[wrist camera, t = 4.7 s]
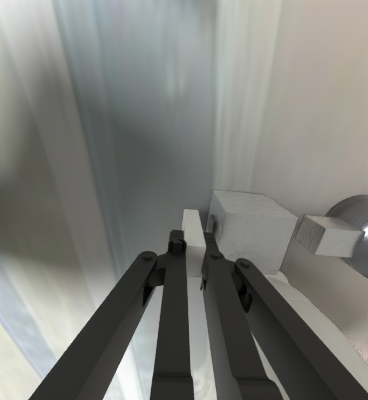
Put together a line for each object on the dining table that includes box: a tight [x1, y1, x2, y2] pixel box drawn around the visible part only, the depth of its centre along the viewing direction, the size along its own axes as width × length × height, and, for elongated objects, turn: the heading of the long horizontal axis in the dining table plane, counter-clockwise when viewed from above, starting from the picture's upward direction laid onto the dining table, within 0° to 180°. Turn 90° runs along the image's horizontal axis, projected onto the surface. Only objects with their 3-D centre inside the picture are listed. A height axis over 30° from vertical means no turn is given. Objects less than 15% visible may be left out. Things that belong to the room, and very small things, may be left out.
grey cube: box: [206, 190, 298, 275], centre depth 17 cm, size 6×6×6 cm
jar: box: [251, 271, 368, 400], centre depth 18 cm, size 11×10×15 cm
